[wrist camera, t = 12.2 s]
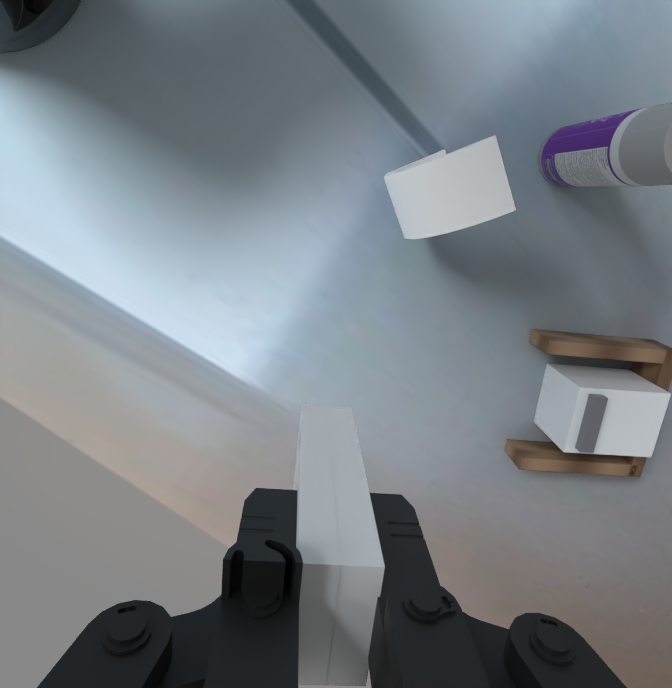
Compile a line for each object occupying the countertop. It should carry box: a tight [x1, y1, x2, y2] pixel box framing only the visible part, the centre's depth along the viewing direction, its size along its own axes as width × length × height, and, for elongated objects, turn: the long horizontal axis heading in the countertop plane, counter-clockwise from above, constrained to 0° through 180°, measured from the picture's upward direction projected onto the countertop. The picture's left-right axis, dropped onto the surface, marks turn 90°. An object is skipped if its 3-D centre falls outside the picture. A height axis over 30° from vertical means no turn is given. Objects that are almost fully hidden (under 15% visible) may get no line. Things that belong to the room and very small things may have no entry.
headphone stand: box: [383, 135, 516, 239], centre depth 36 cm, size 5×6×12 cm
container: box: [539, 103, 672, 186], centre depth 34 cm, size 5×5×15 cm
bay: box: [505, 329, 672, 477], centre depth 46 cm, size 12×12×4 cm
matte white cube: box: [534, 364, 671, 457], centre depth 45 cm, size 8×6×7 cm
